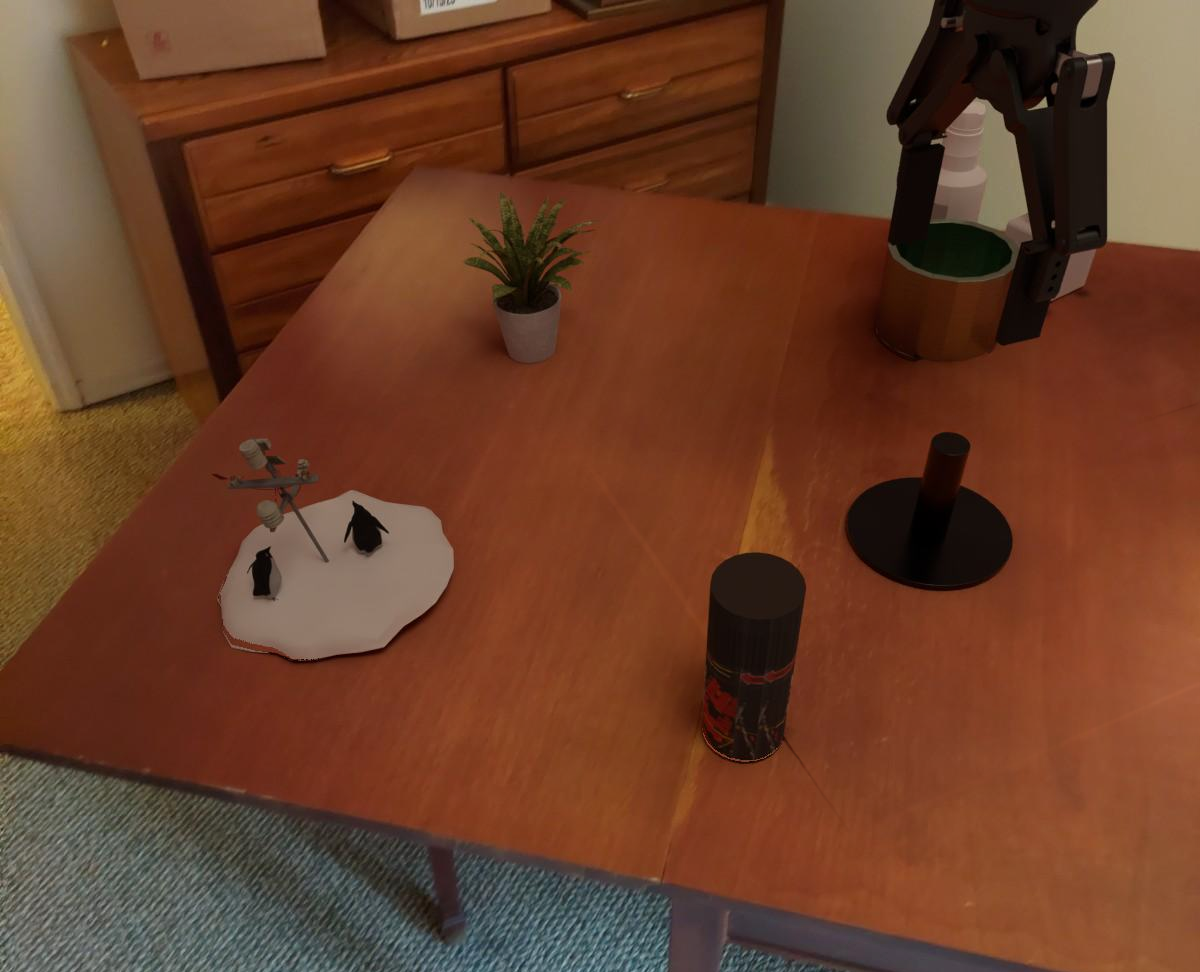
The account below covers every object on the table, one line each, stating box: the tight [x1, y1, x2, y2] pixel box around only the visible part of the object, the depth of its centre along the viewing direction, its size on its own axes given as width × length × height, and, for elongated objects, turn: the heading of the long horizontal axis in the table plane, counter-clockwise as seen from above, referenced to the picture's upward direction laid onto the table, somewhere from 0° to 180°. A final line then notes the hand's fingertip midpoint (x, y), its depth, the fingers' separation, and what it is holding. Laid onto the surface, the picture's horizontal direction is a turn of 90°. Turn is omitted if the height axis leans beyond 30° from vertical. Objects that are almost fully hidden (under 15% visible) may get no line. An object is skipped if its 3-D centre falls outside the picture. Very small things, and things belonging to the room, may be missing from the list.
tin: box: [873, 219, 1019, 363], centre depth 109 cm, size 13×13×10 cm
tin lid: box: [845, 431, 1014, 592], centre depth 87 cm, size 14×14×10 cm
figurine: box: [210, 437, 455, 661], centre depth 83 cm, size 20×18×16 cm
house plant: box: [461, 190, 598, 364], centre depth 106 cm, size 14×14×16 cm
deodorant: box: [701, 551, 807, 765], centre depth 72 cm, size 6×6×15 cm
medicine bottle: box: [1004, 212, 1097, 303], centre depth 114 cm, size 7×7×12 cm
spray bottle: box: [931, 100, 988, 223], centre depth 115 cm, size 7×7×18 cm
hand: (958, 286), depth 71 cm, fingers open, 13 cm apart
